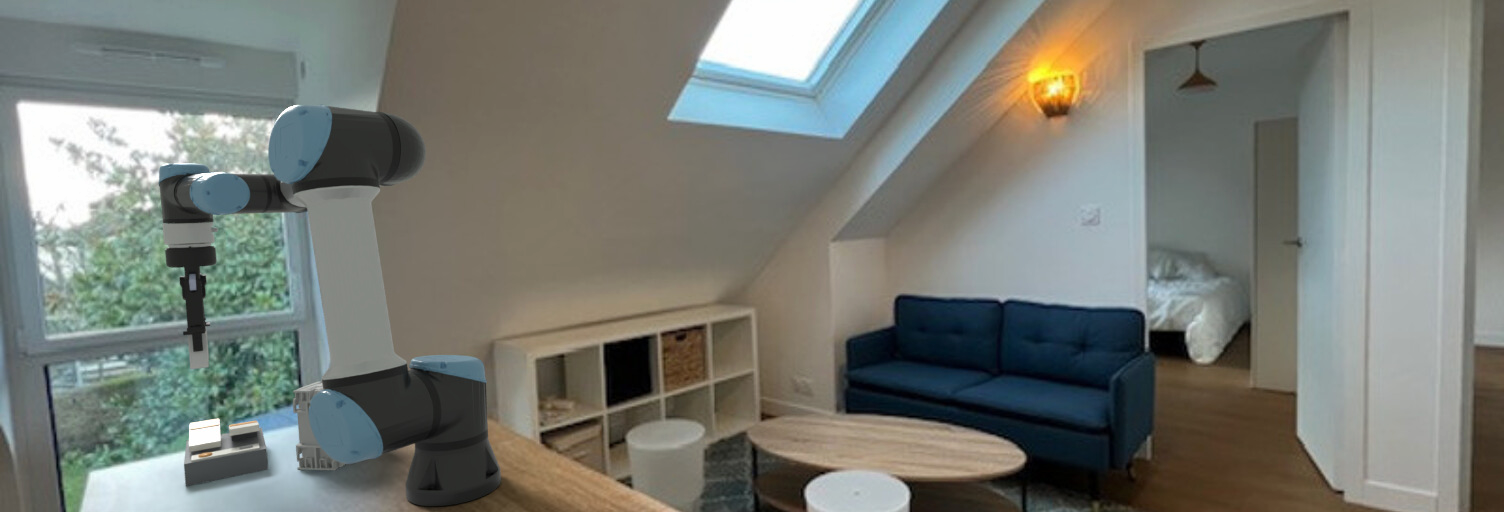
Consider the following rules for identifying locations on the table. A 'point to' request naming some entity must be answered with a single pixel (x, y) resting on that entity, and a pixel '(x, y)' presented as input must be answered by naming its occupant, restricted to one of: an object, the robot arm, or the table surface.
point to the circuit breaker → (310, 433)
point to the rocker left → (204, 435)
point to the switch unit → (226, 458)
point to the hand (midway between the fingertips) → (199, 364)
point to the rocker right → (243, 428)
